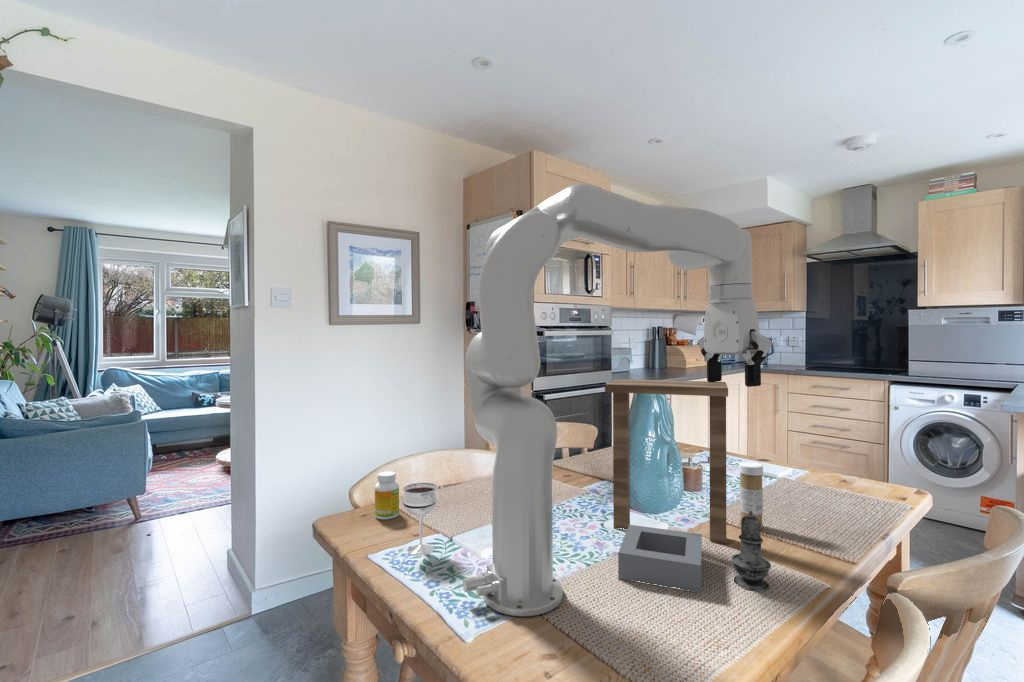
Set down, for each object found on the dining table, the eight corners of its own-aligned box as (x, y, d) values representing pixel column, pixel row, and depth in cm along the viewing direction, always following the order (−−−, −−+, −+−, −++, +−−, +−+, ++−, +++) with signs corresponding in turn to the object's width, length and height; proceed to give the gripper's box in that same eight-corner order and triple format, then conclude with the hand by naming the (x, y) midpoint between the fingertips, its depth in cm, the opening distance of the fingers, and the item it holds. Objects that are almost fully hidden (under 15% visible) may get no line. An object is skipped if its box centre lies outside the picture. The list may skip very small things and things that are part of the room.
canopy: (728, 563, 88) (728, 388, 87) (605, 545, 96) (604, 384, 95) (725, 537, 99) (725, 382, 98) (615, 523, 107) (615, 379, 106)
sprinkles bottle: (752, 521, 107) (752, 460, 107) (768, 529, 103) (768, 465, 103) (734, 523, 106) (734, 461, 106) (749, 531, 102) (749, 467, 102)
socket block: (701, 593, 78) (701, 565, 78) (618, 579, 82) (618, 552, 82) (701, 558, 90) (701, 534, 90) (629, 547, 95) (629, 524, 94)
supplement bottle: (395, 520, 110) (395, 476, 109) (372, 520, 110) (371, 476, 110) (401, 511, 115) (401, 470, 115) (378, 511, 115) (378, 470, 115)
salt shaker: (776, 594, 77) (776, 518, 77) (736, 590, 79) (736, 516, 78) (764, 575, 83) (764, 505, 83) (727, 572, 84) (727, 503, 84)
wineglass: (444, 552, 93) (443, 489, 93) (409, 561, 90) (409, 495, 89) (431, 539, 99) (430, 480, 99) (398, 547, 95) (397, 486, 95)
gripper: (684, 298, 101) (686, 381, 102) (751, 291, 85) (754, 389, 85) (713, 298, 104) (715, 378, 104) (784, 291, 87) (786, 386, 88)
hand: (732, 383), depth 95 cm, fingers open, 9 cm apart
